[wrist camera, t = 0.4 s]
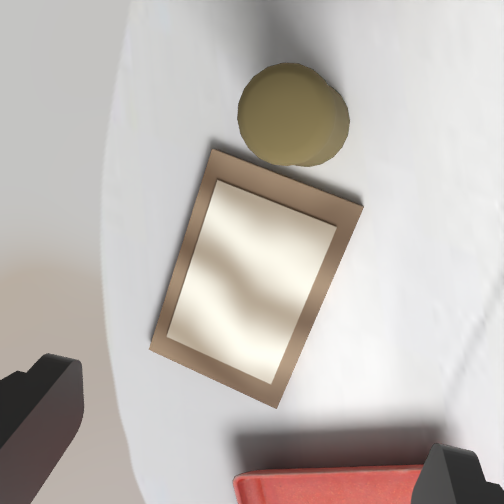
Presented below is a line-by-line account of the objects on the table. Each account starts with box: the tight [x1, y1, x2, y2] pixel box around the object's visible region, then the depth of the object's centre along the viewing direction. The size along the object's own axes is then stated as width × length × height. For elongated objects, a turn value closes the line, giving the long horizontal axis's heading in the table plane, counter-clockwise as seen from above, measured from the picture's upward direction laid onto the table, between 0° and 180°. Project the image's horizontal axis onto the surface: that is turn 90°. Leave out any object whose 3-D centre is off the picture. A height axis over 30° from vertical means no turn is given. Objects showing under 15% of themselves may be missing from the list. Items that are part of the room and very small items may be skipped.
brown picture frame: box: [149, 149, 364, 409], centre depth 36 cm, size 18×12×1 cm, turn 161°
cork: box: [237, 63, 350, 167], centre depth 27 cm, size 6×6×11 cm
